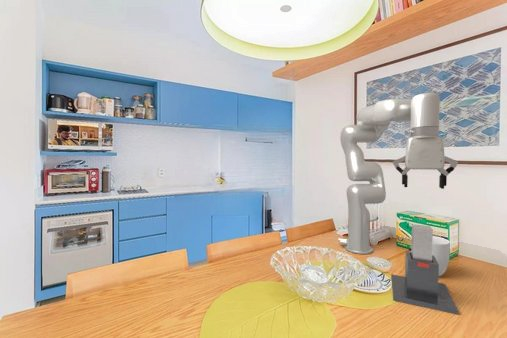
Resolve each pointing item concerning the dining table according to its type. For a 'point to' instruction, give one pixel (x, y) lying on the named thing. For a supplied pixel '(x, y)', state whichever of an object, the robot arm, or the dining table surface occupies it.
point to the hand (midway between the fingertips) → (423, 187)
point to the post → (421, 243)
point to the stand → (422, 286)
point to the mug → (441, 253)
